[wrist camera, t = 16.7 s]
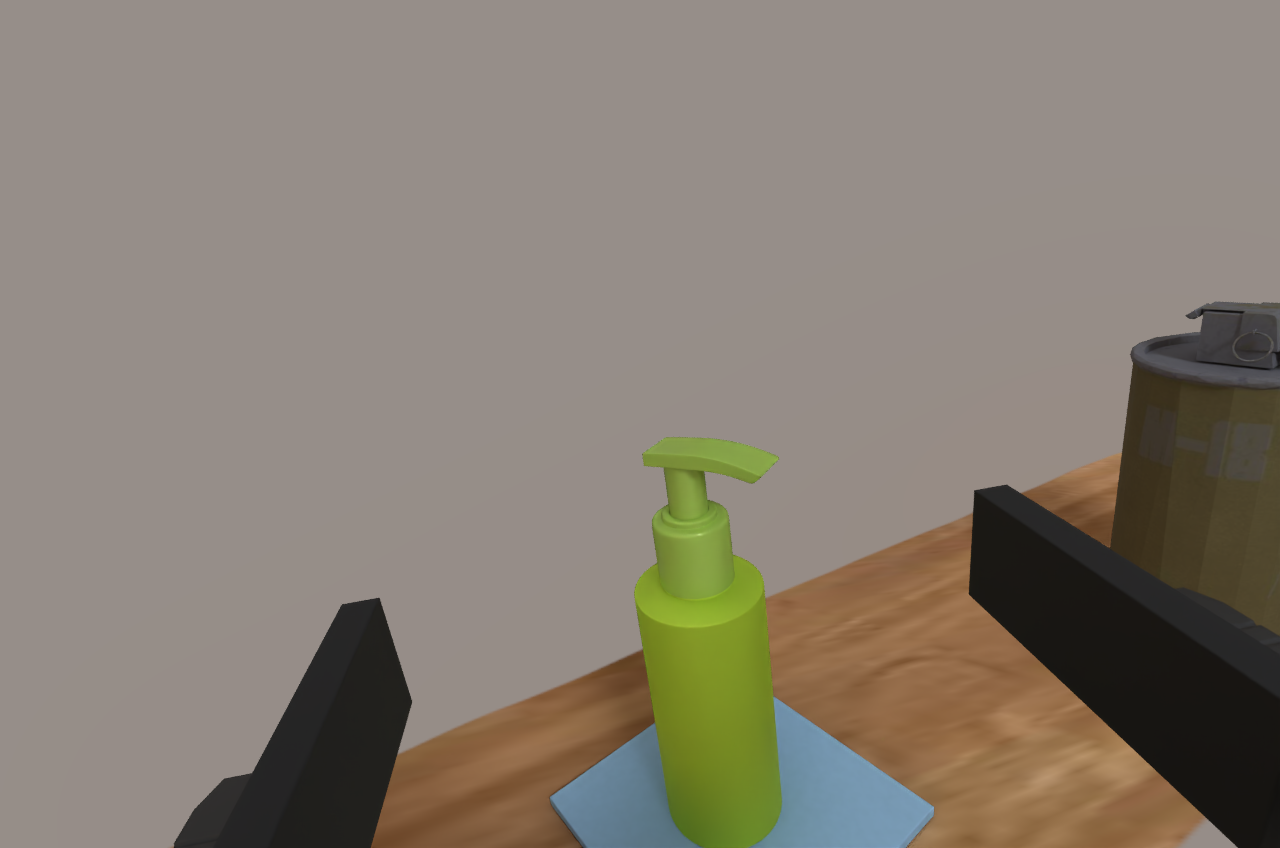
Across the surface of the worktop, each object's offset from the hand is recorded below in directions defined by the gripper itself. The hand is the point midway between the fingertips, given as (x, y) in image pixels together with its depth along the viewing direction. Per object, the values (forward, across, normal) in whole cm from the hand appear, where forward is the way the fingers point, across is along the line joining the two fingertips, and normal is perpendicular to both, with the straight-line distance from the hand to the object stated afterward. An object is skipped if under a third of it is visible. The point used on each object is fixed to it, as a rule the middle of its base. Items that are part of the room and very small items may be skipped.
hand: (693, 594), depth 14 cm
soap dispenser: (+12, +2, -22) cm, 25 cm away
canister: (+20, +36, -22) cm, 47 cm away
